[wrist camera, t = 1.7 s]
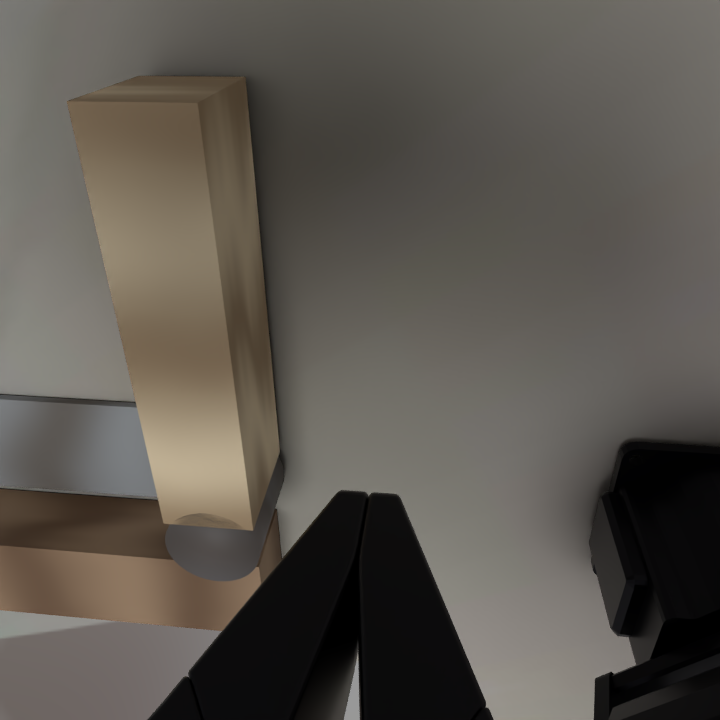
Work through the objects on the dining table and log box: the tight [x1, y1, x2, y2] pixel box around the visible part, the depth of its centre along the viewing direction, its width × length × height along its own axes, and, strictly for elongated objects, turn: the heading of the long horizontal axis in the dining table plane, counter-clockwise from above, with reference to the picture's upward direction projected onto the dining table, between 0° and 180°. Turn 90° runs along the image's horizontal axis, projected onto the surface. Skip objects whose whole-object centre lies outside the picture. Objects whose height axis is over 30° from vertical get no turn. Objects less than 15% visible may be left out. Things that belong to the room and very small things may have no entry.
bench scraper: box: [0, 395, 282, 631], centre depth 26 cm, size 18×9×3 cm, turn 90°
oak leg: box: [67, 76, 284, 581], centre depth 20 cm, size 16×3×4 cm, turn 0°
